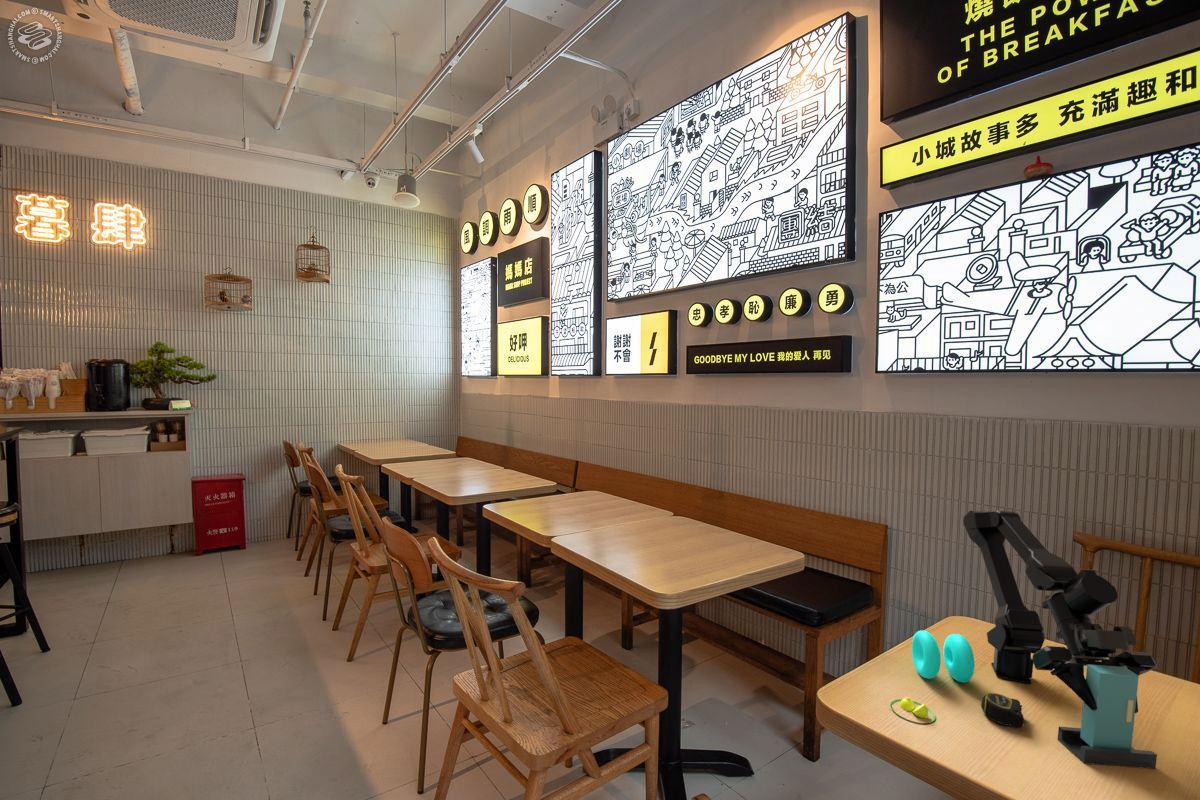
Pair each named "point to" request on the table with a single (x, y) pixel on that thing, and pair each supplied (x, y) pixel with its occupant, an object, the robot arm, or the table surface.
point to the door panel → (1110, 707)
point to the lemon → (909, 706)
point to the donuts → (954, 654)
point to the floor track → (1104, 752)
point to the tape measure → (1002, 709)
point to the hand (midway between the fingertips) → (1115, 711)
